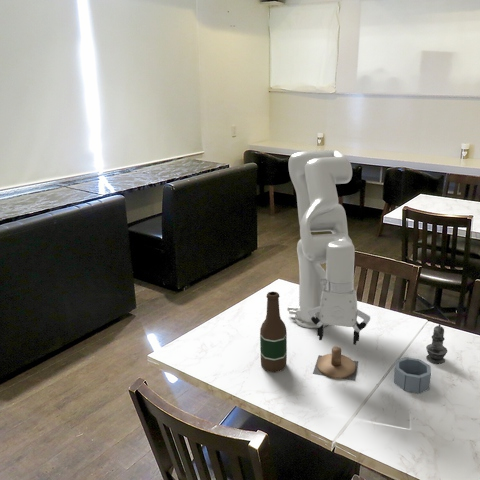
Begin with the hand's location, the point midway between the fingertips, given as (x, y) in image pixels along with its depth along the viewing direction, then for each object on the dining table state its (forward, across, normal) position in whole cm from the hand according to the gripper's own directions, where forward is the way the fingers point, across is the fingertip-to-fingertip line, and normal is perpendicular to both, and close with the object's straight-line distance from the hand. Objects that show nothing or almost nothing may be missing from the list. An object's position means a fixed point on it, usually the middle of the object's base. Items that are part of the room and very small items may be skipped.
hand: (337, 340), depth 131 cm
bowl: (+10, +20, 0) cm, 23 cm away
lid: (+10, 0, +1) cm, 10 cm away
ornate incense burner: (+10, +28, +14) cm, 33 cm away
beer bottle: (+10, -18, -3) cm, 21 cm away
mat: (+10, 0, +1) cm, 10 cm away
